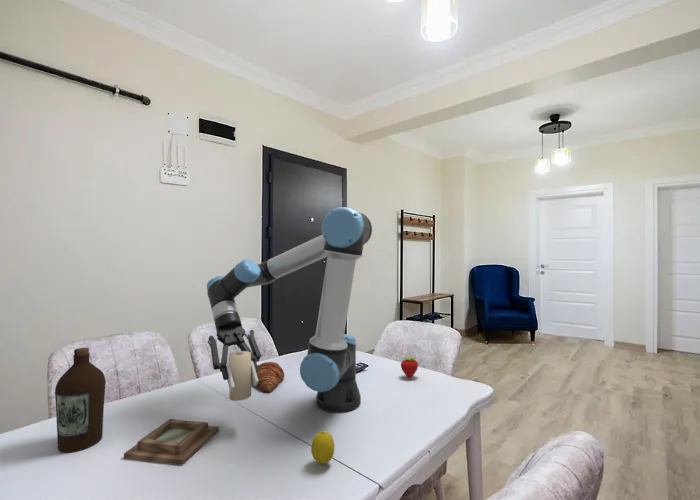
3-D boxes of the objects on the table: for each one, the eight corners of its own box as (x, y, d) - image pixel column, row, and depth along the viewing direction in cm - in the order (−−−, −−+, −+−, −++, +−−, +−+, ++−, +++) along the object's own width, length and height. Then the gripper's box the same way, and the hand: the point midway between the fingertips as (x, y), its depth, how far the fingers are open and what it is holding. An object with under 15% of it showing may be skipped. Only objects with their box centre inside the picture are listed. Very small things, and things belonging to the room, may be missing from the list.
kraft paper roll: (254, 392, 100) (254, 351, 100) (245, 401, 94) (244, 357, 94) (235, 391, 101) (235, 350, 101) (225, 400, 95) (224, 356, 95)
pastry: (296, 381, 136) (296, 361, 136) (268, 395, 123) (268, 372, 123) (266, 373, 145) (267, 354, 145) (237, 385, 132) (237, 364, 132)
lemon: (311, 458, 85) (311, 425, 85) (333, 457, 85) (334, 424, 85) (310, 472, 79) (311, 437, 79) (334, 471, 80) (334, 436, 80)
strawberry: (397, 377, 140) (397, 353, 140) (412, 374, 143) (412, 350, 143) (406, 382, 135) (406, 356, 135) (421, 379, 138) (421, 354, 138)
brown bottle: (69, 434, 95) (70, 344, 95) (112, 430, 98) (112, 342, 98) (44, 457, 85) (45, 356, 85) (93, 451, 87) (94, 353, 87)
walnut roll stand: (218, 430, 98) (218, 419, 98) (182, 465, 82) (182, 451, 82) (168, 426, 100) (168, 415, 100) (123, 458, 84) (123, 445, 84)
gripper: (253, 322, 116) (273, 385, 102) (192, 329, 105) (206, 401, 91) (258, 308, 112) (280, 372, 98) (196, 314, 101) (210, 387, 87)
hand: (244, 386), depth 95 cm, fingers closed on kraft paper roll, 6 cm apart
